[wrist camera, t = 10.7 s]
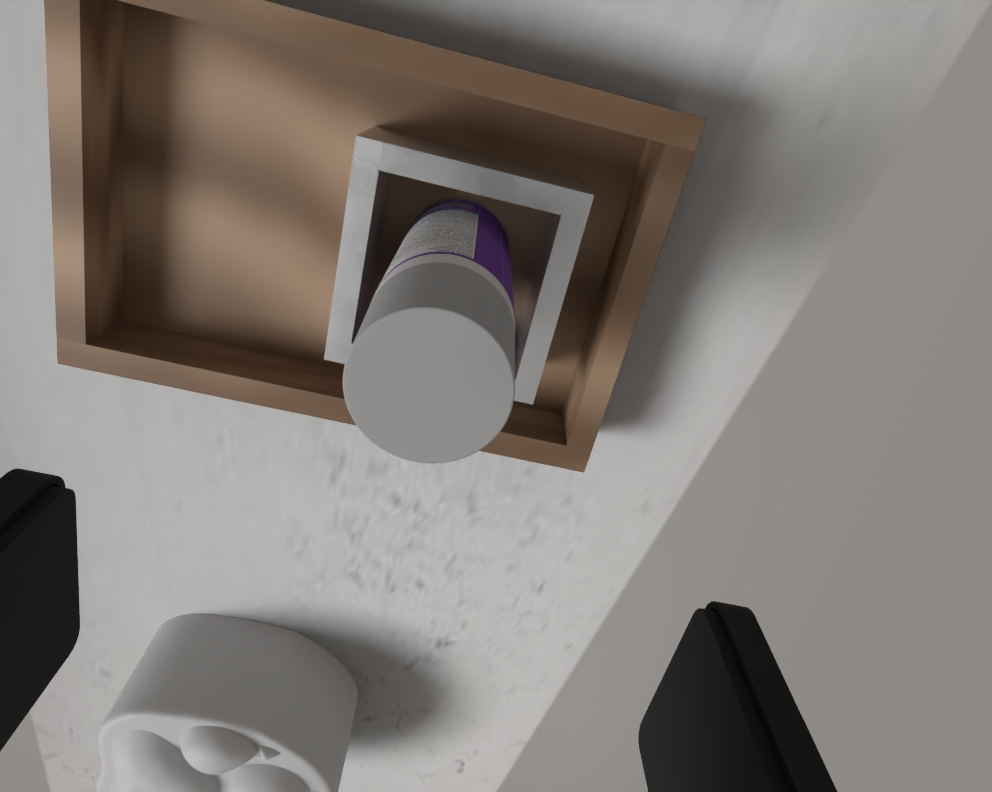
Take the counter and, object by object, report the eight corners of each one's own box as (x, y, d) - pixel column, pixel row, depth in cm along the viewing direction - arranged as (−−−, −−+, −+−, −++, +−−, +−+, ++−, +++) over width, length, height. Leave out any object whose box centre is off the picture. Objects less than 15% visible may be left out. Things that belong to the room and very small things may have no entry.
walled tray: (102, -42, 27) (42, -59, 23) (680, 112, 29) (706, 118, 26) (104, 331, 34) (57, 363, 30) (575, 432, 36) (583, 472, 32)
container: (516, 291, 32) (531, 455, 18) (417, 306, 32) (361, 478, 19) (501, 189, 30) (506, 288, 16) (396, 206, 30) (315, 317, 17)
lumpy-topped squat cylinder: (159, 600, 41) (81, 725, 33) (373, 644, 43) (346, 773, 35) (149, 717, 45) (77, 852, 38) (343, 753, 47) (313, 890, 39)
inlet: (375, 125, 29) (356, 135, 25) (580, 178, 30) (594, 195, 26) (344, 323, 33) (323, 359, 29) (528, 363, 34) (532, 404, 30)
